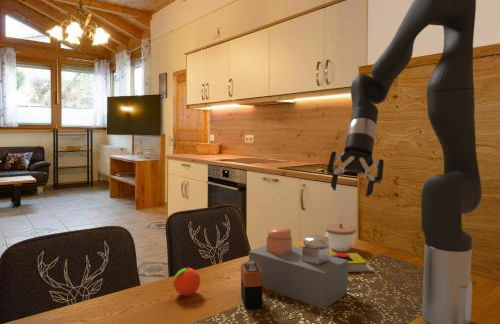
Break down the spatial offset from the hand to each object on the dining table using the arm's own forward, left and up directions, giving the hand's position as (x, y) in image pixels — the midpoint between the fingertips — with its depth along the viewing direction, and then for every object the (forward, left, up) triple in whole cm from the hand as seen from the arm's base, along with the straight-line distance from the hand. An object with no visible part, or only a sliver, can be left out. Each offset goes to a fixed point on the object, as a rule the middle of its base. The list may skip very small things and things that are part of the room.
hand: (350, 192), depth 98 cm
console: (+11, +8, -27) cm, 30 cm away
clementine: (+30, +31, -27) cm, 51 cm away
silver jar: (+5, +8, -21) cm, 23 cm away
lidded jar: (+19, -31, -27) cm, 46 cm away
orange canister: (+17, +8, -21) cm, 28 cm away
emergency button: (+10, -16, -27) cm, 33 cm away
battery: (+15, +23, -27) cm, 38 cm away
